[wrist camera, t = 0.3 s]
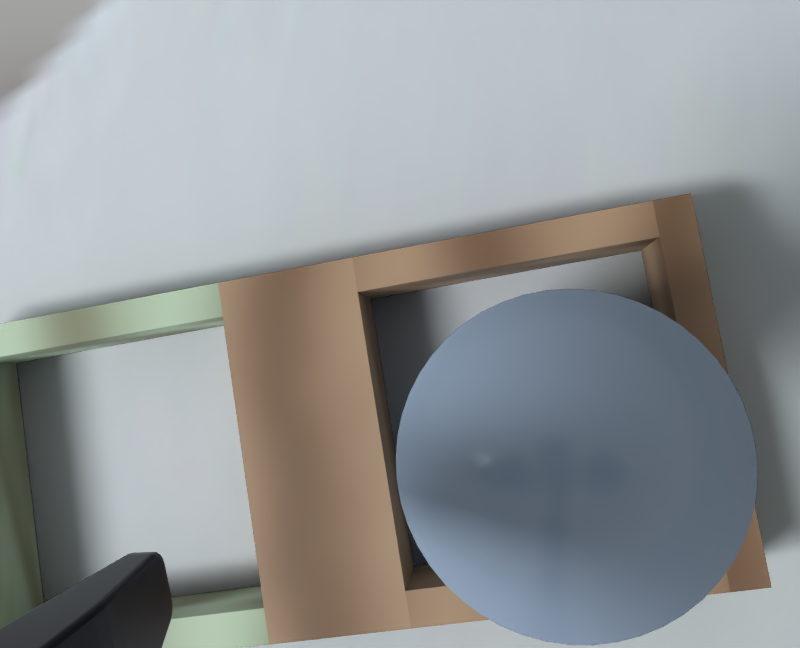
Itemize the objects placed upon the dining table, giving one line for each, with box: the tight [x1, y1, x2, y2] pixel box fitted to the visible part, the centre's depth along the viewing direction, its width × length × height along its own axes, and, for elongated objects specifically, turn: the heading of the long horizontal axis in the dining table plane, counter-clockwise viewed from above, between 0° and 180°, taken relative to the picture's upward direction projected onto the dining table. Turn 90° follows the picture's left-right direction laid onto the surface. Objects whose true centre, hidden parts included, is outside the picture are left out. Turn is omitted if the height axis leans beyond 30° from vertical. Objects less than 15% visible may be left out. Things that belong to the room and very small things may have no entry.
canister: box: [396, 289, 758, 645], centre depth 17 cm, size 6×6×12 cm
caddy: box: [0, 193, 771, 648], centre depth 23 cm, size 27×12×2 cm, turn 99°
